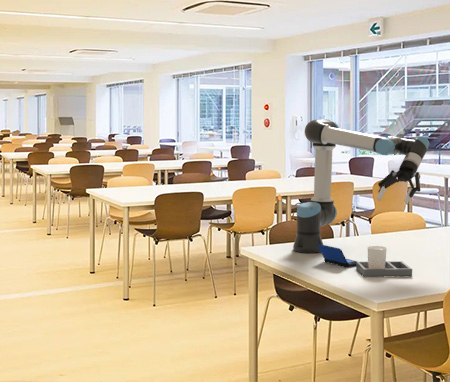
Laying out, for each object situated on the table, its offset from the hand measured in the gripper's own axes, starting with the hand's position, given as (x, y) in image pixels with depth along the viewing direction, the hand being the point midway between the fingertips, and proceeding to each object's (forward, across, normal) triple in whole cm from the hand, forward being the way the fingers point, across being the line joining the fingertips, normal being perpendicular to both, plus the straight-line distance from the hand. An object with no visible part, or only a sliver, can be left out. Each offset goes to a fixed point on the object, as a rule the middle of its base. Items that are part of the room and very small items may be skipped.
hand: (391, 200), depth 294 cm
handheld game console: (+31, +17, -11) cm, 37 cm away
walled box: (+31, -6, -10) cm, 33 cm away
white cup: (+32, -4, -8) cm, 34 cm away
